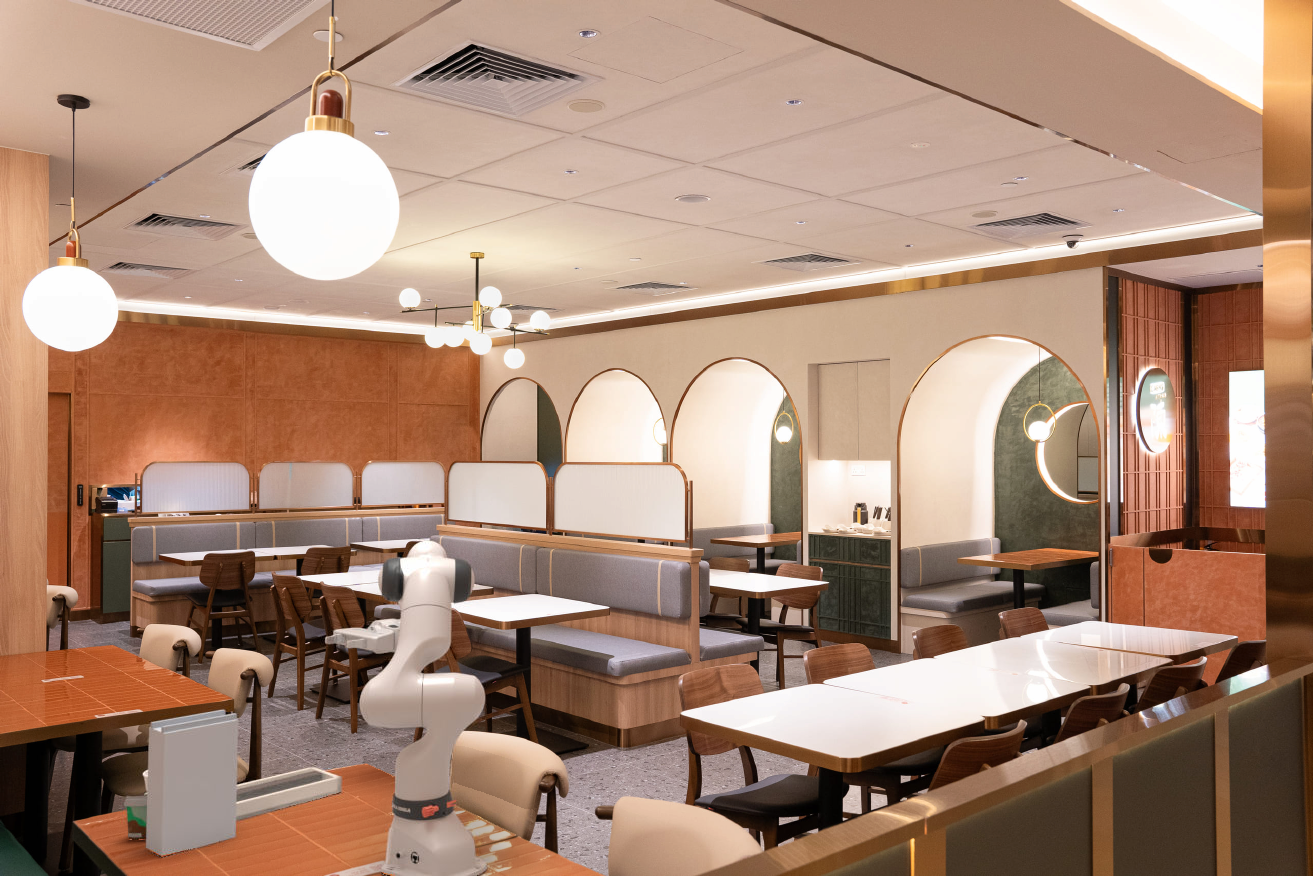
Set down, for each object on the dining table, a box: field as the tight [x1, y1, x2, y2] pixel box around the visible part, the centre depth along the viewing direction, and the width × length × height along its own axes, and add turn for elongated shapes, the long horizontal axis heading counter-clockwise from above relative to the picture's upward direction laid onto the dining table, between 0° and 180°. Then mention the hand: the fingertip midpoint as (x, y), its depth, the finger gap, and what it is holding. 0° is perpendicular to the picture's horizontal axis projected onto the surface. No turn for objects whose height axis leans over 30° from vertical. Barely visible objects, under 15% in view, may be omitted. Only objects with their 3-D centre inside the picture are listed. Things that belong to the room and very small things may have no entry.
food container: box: [123, 791, 147, 840], centre depth 219 cm, size 12×6×10 cm, turn 161°
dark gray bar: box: [236, 771, 322, 802], centre depth 243 cm, size 4×24×4 cm, turn 139°
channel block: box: [145, 709, 239, 856], centre depth 215 cm, size 8×16×27 cm, turn 139°
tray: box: [236, 766, 343, 822], centre depth 242 cm, size 14×31×4 cm, turn 139°
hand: (336, 642), depth 252 cm, fingers open, 8 cm apart
